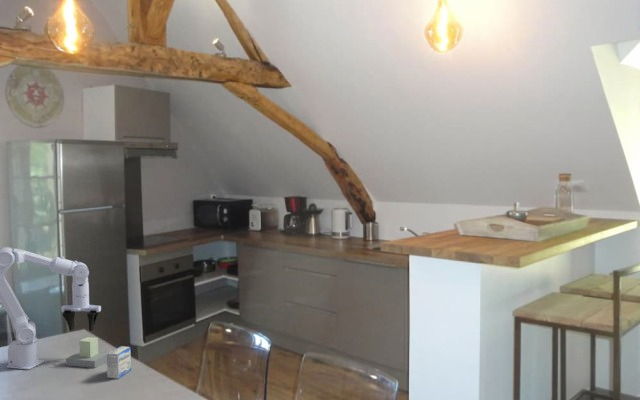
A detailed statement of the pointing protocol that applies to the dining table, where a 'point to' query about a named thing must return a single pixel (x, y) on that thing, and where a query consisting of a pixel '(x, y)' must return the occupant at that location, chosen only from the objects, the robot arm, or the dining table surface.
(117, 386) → the dining table surface
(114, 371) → the medicine box
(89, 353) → the green block
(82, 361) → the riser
